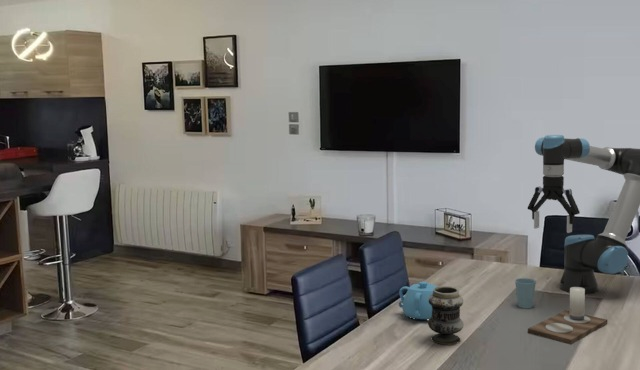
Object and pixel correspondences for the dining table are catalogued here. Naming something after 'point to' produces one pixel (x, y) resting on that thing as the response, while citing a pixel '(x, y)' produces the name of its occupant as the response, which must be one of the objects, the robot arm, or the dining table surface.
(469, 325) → the dining table surface
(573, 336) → the seat board
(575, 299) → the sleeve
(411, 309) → the decorative pot
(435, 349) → the dining table surface
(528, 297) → the cup
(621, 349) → the dining table surface
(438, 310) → the apothecary jar
